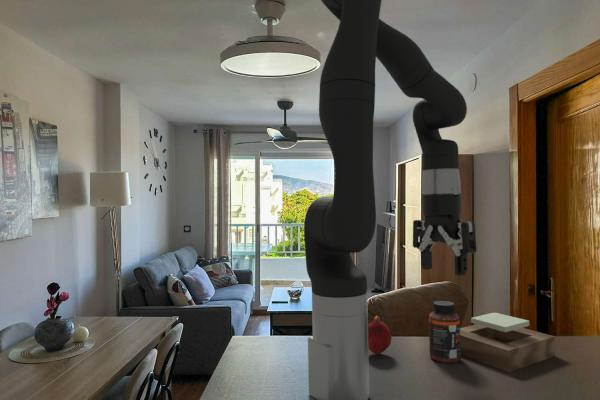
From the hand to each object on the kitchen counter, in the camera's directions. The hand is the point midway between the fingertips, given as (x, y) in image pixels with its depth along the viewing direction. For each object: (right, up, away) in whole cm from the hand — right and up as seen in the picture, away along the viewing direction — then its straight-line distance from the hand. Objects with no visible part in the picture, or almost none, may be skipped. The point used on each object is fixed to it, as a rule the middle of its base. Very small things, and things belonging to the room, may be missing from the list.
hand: (443, 272), depth 85 cm
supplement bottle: (0, -18, 0) cm, 18 cm away
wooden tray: (+13, -17, +2) cm, 22 cm away
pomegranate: (-13, -18, +3) cm, 22 cm away
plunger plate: (+13, -11, +2) cm, 17 cm away
